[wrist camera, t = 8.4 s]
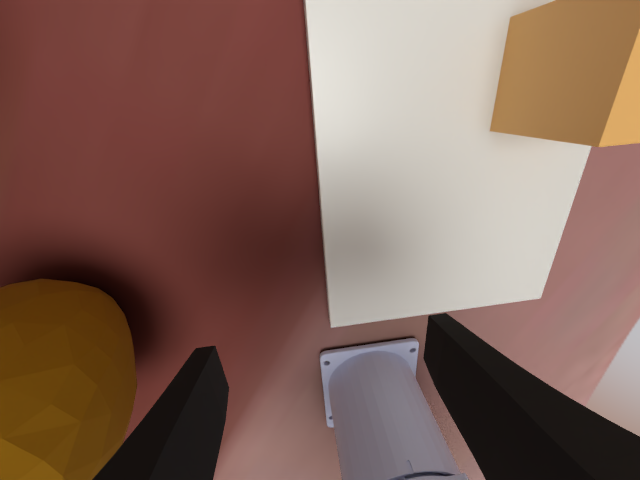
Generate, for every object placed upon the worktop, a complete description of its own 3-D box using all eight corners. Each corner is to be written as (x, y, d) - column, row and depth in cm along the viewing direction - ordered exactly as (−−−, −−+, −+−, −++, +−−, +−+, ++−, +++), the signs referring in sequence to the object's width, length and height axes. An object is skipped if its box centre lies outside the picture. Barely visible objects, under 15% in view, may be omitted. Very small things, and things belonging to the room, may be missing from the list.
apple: (204, 345, 21) (108, 638, 10) (72, 391, 22) (-170, 722, 10) (108, 216, 16) (-324, 499, 5) (-61, 278, 17) (-830, 674, 5)
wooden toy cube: (608, 10, 14) (819, -48, 8) (574, 123, 16) (723, 134, 10) (510, 17, 13) (663, -40, 8) (489, 131, 16) (598, 147, 10)
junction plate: (530, 290, 22) (584, 332, 18) (328, 318, 21) (339, 369, 17) (637, -54, 13) (787, -119, 9) (300, -37, 12) (308, -102, 8)
